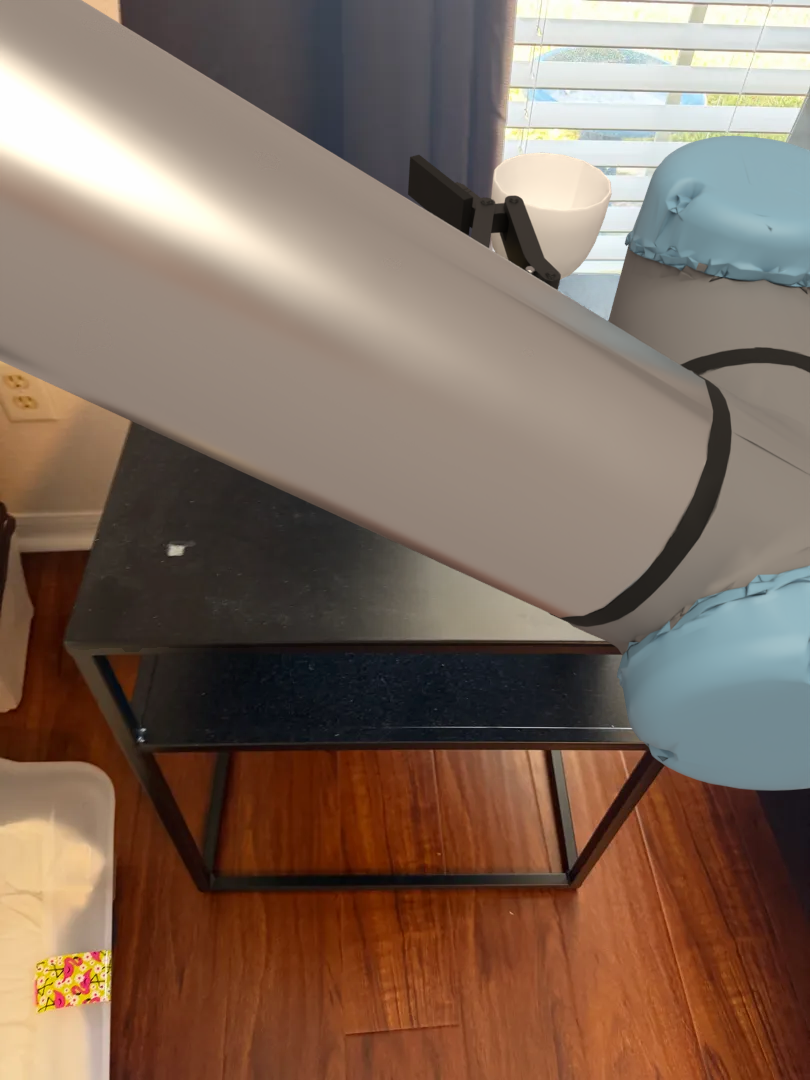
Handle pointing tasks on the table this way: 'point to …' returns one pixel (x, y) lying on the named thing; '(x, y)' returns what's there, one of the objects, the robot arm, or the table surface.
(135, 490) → the table surface
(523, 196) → the cup
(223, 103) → the robot arm
